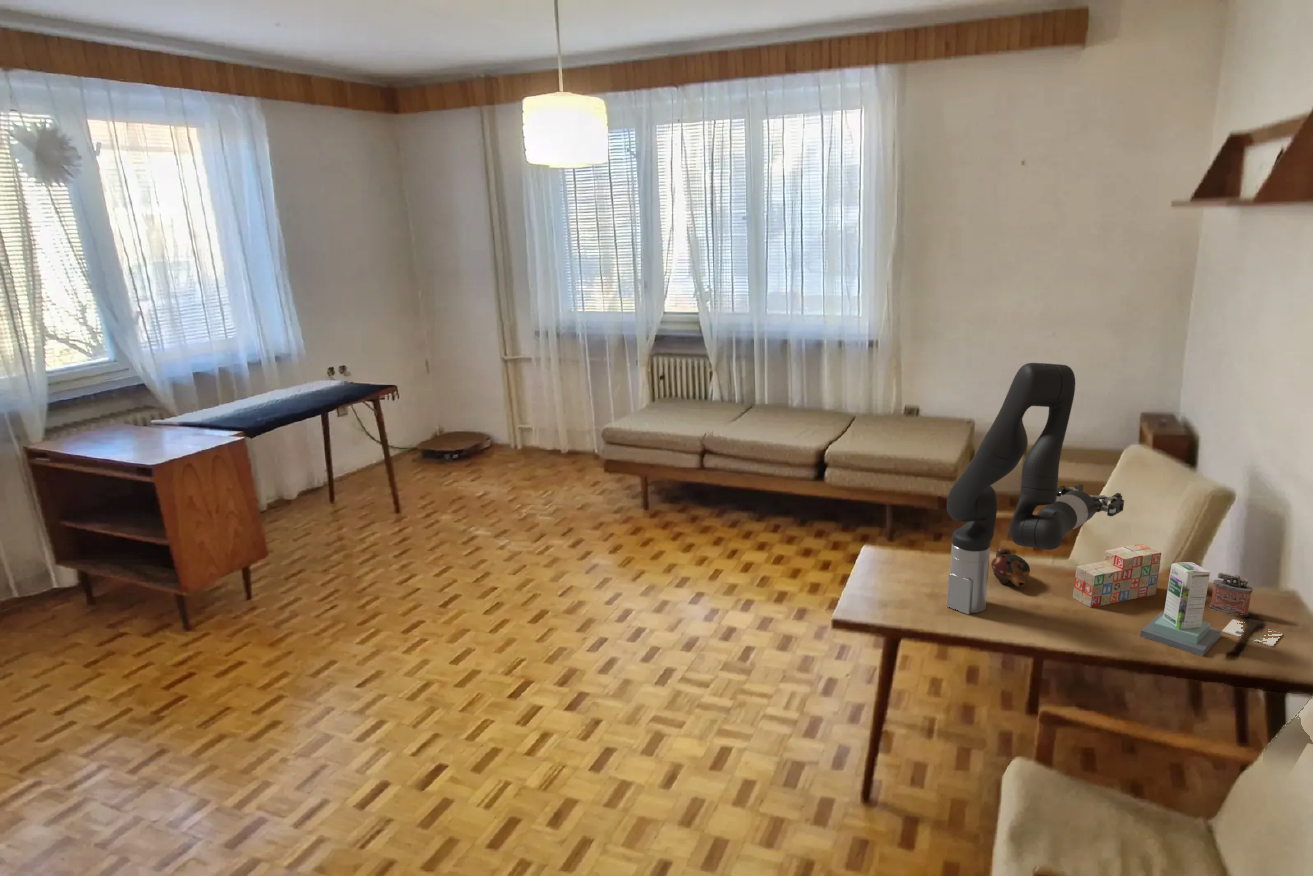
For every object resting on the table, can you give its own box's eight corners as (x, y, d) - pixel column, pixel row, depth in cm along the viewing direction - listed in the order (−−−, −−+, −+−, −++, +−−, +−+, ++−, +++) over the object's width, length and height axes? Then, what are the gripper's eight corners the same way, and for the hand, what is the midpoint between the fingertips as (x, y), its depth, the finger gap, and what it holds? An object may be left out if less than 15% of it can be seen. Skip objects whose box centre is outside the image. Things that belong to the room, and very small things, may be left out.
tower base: (1202, 656, 184) (1204, 642, 183) (1140, 635, 194) (1141, 622, 193) (1221, 636, 192) (1223, 623, 191) (1160, 617, 202) (1162, 604, 201)
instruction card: (1272, 647, 186) (1272, 645, 186) (1222, 631, 194) (1222, 630, 194) (1282, 634, 191) (1282, 633, 191) (1232, 620, 199) (1232, 618, 199)
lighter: (1249, 614, 201) (1255, 577, 199) (1246, 619, 199) (1253, 582, 196) (1210, 604, 207) (1216, 569, 204) (1208, 609, 204) (1213, 573, 202)
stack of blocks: (1090, 608, 208) (1095, 564, 204) (1072, 598, 213) (1076, 555, 210) (1156, 594, 213) (1162, 551, 210) (1136, 584, 219) (1141, 542, 216)
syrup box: (1161, 618, 194) (1169, 562, 190) (1185, 616, 195) (1193, 561, 191) (1178, 630, 189) (1187, 573, 185) (1202, 628, 189) (1211, 571, 185)
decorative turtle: (1011, 568, 232) (1015, 543, 229) (1039, 595, 217) (1044, 568, 215) (978, 569, 231) (983, 543, 228) (1004, 596, 217) (1009, 569, 214)
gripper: (1105, 503, 177) (1134, 484, 187) (1040, 487, 187) (1071, 471, 197) (1101, 535, 179) (1130, 515, 189) (1037, 517, 190) (1067, 499, 200)
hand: (1099, 492), depth 193 cm, fingers open, 8 cm apart
